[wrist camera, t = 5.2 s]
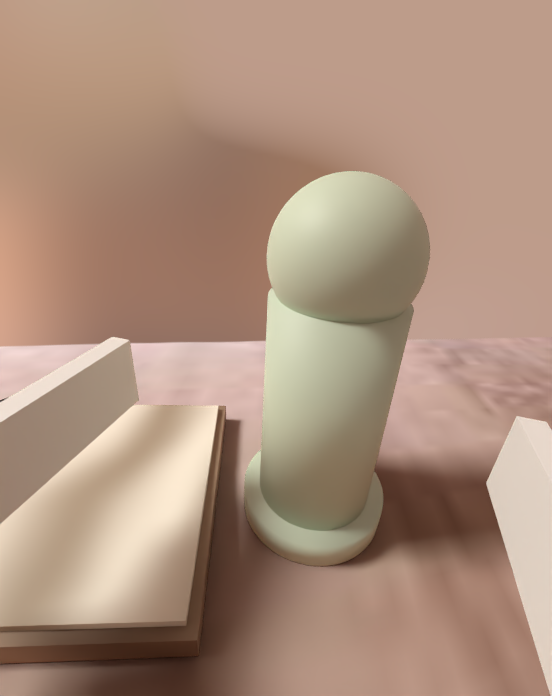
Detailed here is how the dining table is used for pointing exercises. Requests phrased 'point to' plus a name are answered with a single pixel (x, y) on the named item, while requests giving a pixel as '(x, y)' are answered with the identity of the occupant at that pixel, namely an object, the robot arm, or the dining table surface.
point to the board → (116, 544)
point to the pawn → (332, 362)
